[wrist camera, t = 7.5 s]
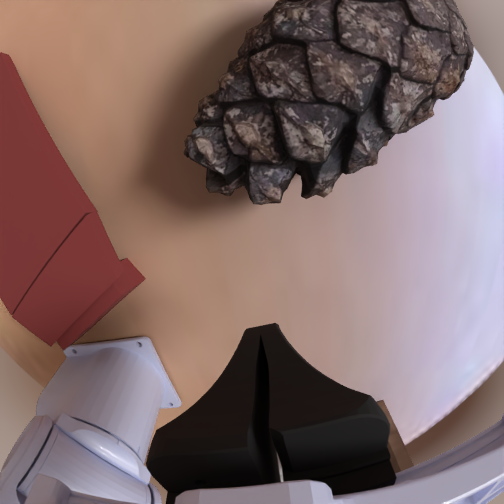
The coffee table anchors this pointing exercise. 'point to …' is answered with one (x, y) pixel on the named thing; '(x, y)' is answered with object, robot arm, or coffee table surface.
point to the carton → (50, 230)
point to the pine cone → (326, 92)
